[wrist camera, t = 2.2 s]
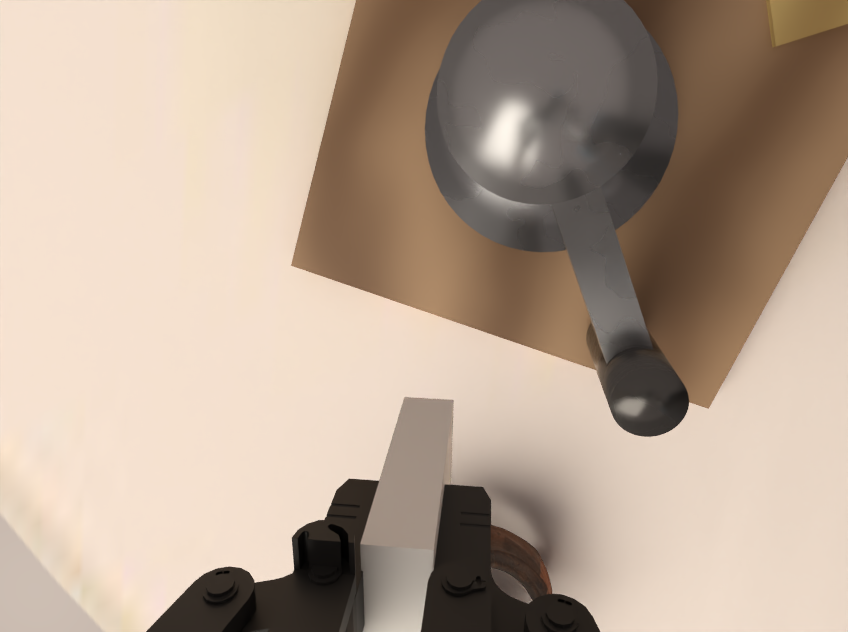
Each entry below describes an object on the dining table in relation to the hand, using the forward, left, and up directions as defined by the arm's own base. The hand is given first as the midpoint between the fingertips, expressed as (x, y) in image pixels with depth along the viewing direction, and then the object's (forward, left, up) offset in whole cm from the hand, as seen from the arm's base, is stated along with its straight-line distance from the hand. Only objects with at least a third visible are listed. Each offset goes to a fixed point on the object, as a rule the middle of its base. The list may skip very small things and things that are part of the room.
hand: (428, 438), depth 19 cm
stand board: (-2, -10, -9) cm, 14 cm away
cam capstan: (-2, -7, -8) cm, 11 cm away
